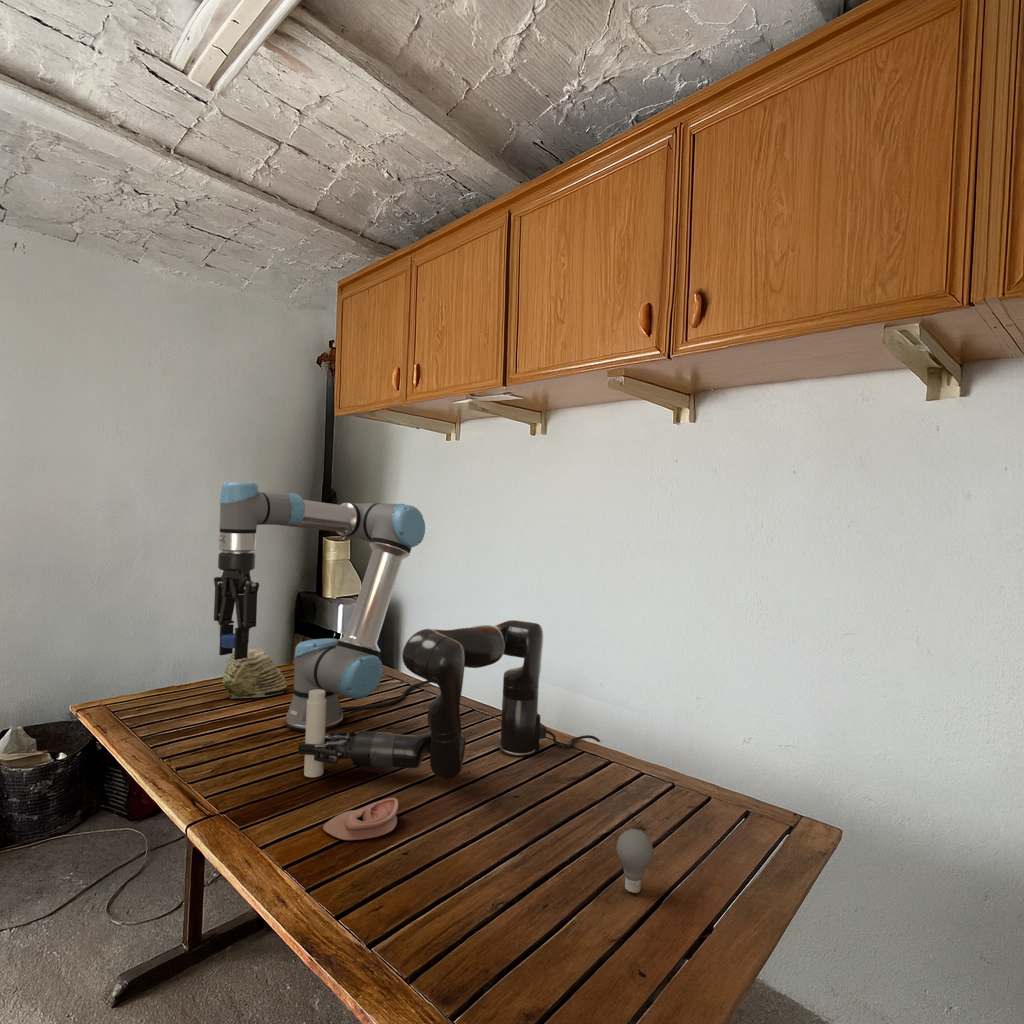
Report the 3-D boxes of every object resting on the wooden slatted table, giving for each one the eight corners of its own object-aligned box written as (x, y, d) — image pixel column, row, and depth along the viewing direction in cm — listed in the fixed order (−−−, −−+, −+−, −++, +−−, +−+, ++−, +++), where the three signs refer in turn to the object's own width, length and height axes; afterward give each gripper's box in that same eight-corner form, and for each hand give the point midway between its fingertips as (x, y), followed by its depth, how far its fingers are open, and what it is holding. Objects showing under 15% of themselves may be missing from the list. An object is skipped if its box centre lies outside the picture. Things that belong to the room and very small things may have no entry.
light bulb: (610, 879, 108) (613, 822, 108) (644, 879, 109) (647, 822, 109) (619, 902, 102) (622, 840, 102) (655, 901, 103) (658, 840, 103)
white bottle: (327, 772, 146) (330, 690, 145) (314, 779, 142) (317, 695, 142) (313, 767, 148) (316, 687, 147) (299, 774, 144) (303, 692, 143)
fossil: (218, 695, 195) (220, 647, 195) (278, 685, 208) (279, 640, 207) (228, 703, 189) (230, 653, 188) (289, 692, 201) (290, 645, 201)
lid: (228, 642, 143) (229, 632, 143) (250, 643, 143) (250, 633, 143) (216, 647, 138) (216, 637, 138) (238, 649, 138) (239, 638, 138)
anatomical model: (315, 814, 118) (343, 787, 129) (314, 835, 118) (343, 807, 129) (382, 825, 115) (405, 796, 127) (381, 846, 116) (404, 816, 127)
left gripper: (198, 549, 142) (194, 652, 142) (246, 556, 132) (241, 666, 132) (229, 547, 148) (225, 646, 149) (277, 554, 138) (273, 660, 139)
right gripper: (385, 722, 151) (314, 717, 152) (368, 745, 137) (290, 739, 138) (384, 753, 151) (313, 748, 152) (367, 779, 137) (289, 774, 138)
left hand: (233, 656), depth 141 cm, fingers closed on lid, 5 cm apart
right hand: (303, 744), depth 145 cm, fingers closed on white bottle, 4 cm apart
